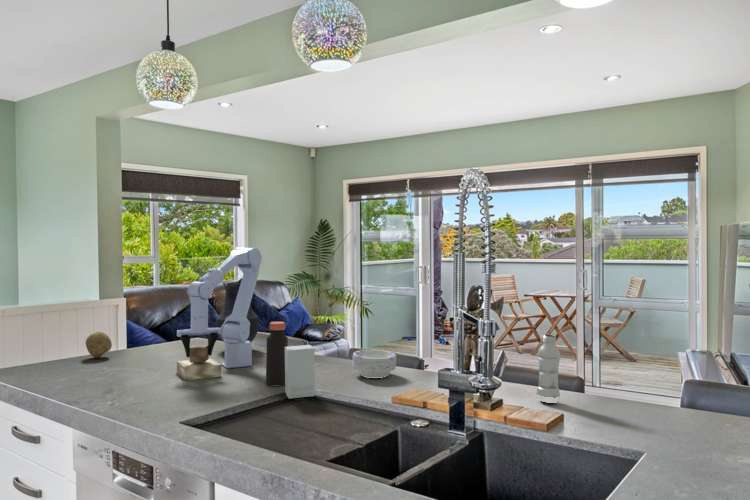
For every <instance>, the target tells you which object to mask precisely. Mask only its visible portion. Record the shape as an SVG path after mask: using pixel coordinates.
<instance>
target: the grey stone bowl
mask: <svg viewBox="0 0 750 500" xmlns="http://www.w3.org/2000/svg"><path fill="white" fill-rule="evenodd" d="M396 365H397V354H396V353H394V352H391V351H388V350H383V349H361V350H356V351H354V352H353V353H352V368H353V369H354V370H357V373H358V375H359V374H360V375H362V376H367V377H384V376H387V375H388V376H389V375H390V374H391V371H394V370H396V369H397V368H396V367H397V366H396ZM360 375H359V376H360ZM362 376H361V377H362ZM388 376H387V377H388Z"/></svg>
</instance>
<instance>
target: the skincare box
mask: <svg viewBox="0 0 750 500" xmlns="http://www.w3.org/2000/svg"><path fill="white" fill-rule="evenodd" d="M315 353H316V352H315V348H314V347H313V346H312V344H302V345H289V346H288V347H285V385H284V386H285V387H284V393H286V394H285V395H286V397H287V398H288V399H289V400H290V399H298V398H306V397H308V398H310V397H315V396H316V394H315V393H316V390H315V389H316V386H315V377H316V376H315Z"/></svg>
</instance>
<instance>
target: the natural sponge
mask: <svg viewBox="0 0 750 500" xmlns="http://www.w3.org/2000/svg"><path fill="white" fill-rule="evenodd" d="M112 346H113V344H112V340H111V338H110V337H109V336H108V334H106V333H104V332H101V331H96V332H93V333H91V334H89V336H88V337H87V338H86V340H85V347H86V350H87V352H88V353H89V355H90V356H91V357H93V358H94V359H100V358H101V357H102V356H103V355H105V354H106V353H108V352H109V351H110V350H111V349H112Z"/></svg>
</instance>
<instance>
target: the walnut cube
mask: <svg viewBox="0 0 750 500" xmlns="http://www.w3.org/2000/svg"><path fill="white" fill-rule="evenodd" d="M208 352H209V345H208V344H193V345H191V346H190V357H189V360H190V363H204V362H206V361H207V360H208V359H209V358H210V356H209V355H208Z"/></svg>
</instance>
